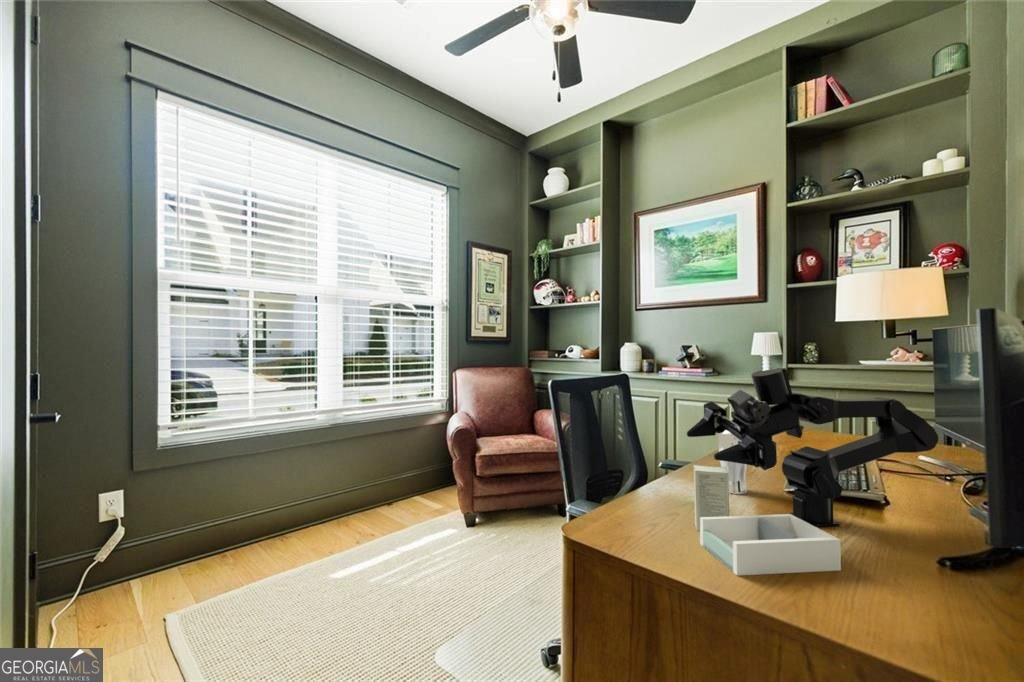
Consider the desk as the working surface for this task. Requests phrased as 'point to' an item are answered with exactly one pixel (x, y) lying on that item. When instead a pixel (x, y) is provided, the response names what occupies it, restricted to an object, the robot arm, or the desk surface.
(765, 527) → the tall grey panel
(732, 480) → the beer glass
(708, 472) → the skincare box
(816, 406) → the robot arm
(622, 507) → the desk surface
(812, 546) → the box
